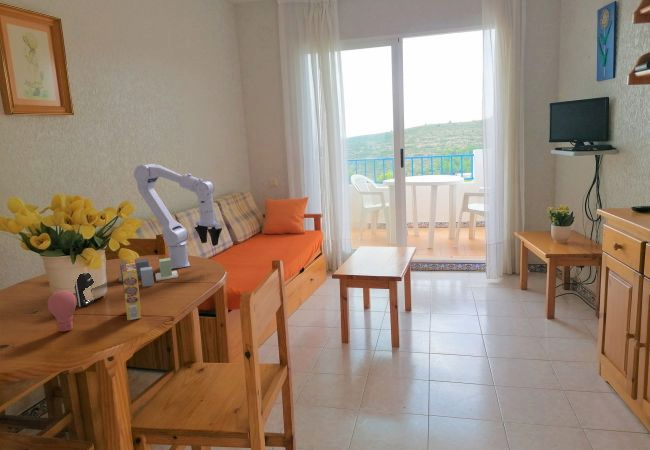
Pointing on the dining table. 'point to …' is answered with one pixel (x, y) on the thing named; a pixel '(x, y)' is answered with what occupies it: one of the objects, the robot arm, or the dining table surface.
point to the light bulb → (62, 308)
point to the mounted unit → (139, 264)
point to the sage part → (165, 267)
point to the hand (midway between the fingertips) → (209, 244)
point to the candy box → (131, 291)
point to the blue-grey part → (147, 276)
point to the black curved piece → (83, 288)
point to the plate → (158, 276)
